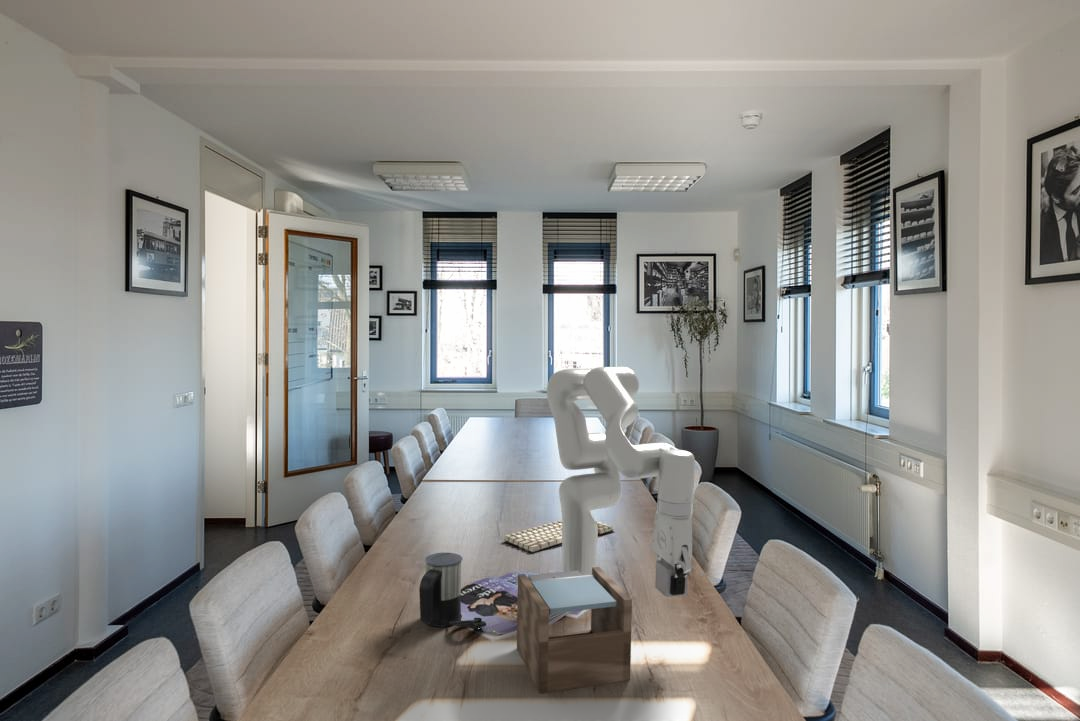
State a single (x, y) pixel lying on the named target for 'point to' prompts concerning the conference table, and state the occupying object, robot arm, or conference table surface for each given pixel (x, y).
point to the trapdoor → (571, 591)
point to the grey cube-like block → (666, 578)
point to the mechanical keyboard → (546, 537)
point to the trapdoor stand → (574, 641)
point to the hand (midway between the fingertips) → (670, 587)
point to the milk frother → (443, 592)
